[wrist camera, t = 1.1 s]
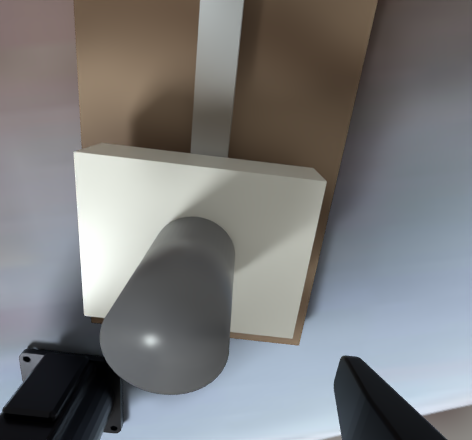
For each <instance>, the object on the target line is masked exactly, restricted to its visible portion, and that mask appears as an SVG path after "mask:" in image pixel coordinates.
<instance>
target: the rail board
mask: <svg viewBox="0 0 472 440" xmlns="http://www.w3.org/2000/svg"><path fill="white" fill-rule="evenodd" d="M377 2H378V0H74V16H75V35H76V53H77V71H78V89H79V107H80V125H81V143H82V149H84V148H87V147H90V146H94V145H97V144H100V143H107V144H115V145H124V146H132V147H141V148H149V149H158V150H166V151H174V152H183V153H191V154H200V155H208V156H217V157H225V158H233V159H242V160H250V161H259V162H267V163H276V164H284V165H292V166H301V167H309V168H314V169H315V170H316V171H317V172H318V173H319V174H320V175H321V176H322V177H323V178H324V179H325V180H326V181H327V183H326V188H325V192H324V197H323V201H322V206H321V210H320V215H319V220H318V224H317V229H316V233H315V238H314V243H313V247H312V252H311V256H310V261H309V265H308V270H307V275H306V279H305V284H304V288H303V293H302V297H301V302H300V307H299V311H298V316H297V320H296V325H295V330H294V334H293V339H290V338H281V337H272V336H263V335H254V334H244V333H235V332H230V338H236V339H245V340H254V341H263V342H272V343H281V344H290V345H299V343H300V338H301V334H302V330H303V325H304V321H305V316H306V312H307V308H308V303H309V299H310V295H311V290H312V286H313V282H314V277H315V273H316V268H317V264H318V260H319V255H320V251H321V247H322V242H323V238H324V234H325V229H326V225H327V220H328V216H329V212H330V207H331V203H332V199H333V194H334V190H335V186H336V181H337V177H338V172H339V168H340V164H341V159H342V155H343V151H344V146H345V142H346V138H347V133H348V129H349V124H350V120H351V116H352V111H353V107H354V103H355V98H356V94H357V89H358V85H359V81H360V76H361V72H362V68H363V63H364V59H365V55H366V50H367V46H368V41H369V37H370V33H371V28H372V24H373V20H374V15H375V11H376V7H377ZM103 320H104V318H100V317H91V323H100V324H102V323H103Z"/></svg>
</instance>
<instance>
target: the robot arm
mask: <svg viewBox="0 0 472 440" xmlns="http://www.w3.org/2000/svg"><path fill="white" fill-rule="evenodd" d="M19 362H20V368H21V374H22V380H23V383H22V384H21V386H20V387H19V388H18V389H17V391H16V392H15V393H14V395H13V396H12V397H11V398H10V400H9V401H8V402H7V404H6V405H5V406H4V407H3V410H2V413H1V414H0V440H100V438H101V436H102V433H103V432H107V433H119V432H120V431H121V428H122V426H123V388H122V378H121V377H120V376H118V375H117V374H116V373H115V372H114V371H113V369H112V368H111V367H110V366H109V364H108V363H107V361H106V360H105V357H101V356H92V355H83V354H74V353H65V352H56V351H46V350H37V349H25V350H24V351H23V352H22V353H21V355H20V356H19ZM334 393H335V399H336V405H337V412H338V418H339V424H340V430H341V436H342V440H447V439H446V438H445V437H444V436H443V435H442V434H441V433H440V432H438V430H436V429H435V428H434V427H433V426H432V425H431V424H430V423H429V422H428V421H427V420H426V419H425V418H424V417H423V416H422V415H420V414H419V413H418V412H417V411H416V410H415V409H414V408H413V407H412V406H411V405H410V404H409V403H408V402H407V401H406V400H405V399H403V398H402V397H401V396H400V395H399V394H398V393H397V392H396V391H395V390H394V389H393V388H392V387H391V386H390V385H389V384H387V383H386V382H385V381H384V380H383V379H382V378H381V377H380V376H379V375H378V374H377V373H376V372H375V371H374V370H373V369H371V368H370V367H369V366H368V365H367V364H366V363H365V362H364V361H363V360H362V359H361V358H359V357H355V356H342V357H341V359H340V362H339V365H338V369H337V372H336V376H335V379H334Z"/></svg>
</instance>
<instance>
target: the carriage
mask: <svg viewBox="0 0 472 440" xmlns="http://www.w3.org/2000/svg"><path fill="white" fill-rule="evenodd" d="M74 165H75V180H76V196H77V211H78V227H79V243H80V258H81V274H82V289H83V305H84V316H91V317H100V318H104V320H103V323H102V326H101V330H100V346H101V350H102V353H103V355H104V357H105V360H106V361H107V363H108V364H109V366H110V367H111V368H112V369H113V371H114V372H115V373H116V374H117V375H118V376H120V377H121V378H122V379H123V380H125V381H126V382H128V383H130V384H131V385H133V386H135V387H137V388H139V389H142V390H145V391H148V392H152V393H157V394H164V395H178V394H185V393H189V392H193V391H196V390H199V389H201V388H203V387H205V386H207V385H208V384H210V383H211V382H212V381H213V380H215V379H216V378H217V377H218V376H219V374H220V373H221V372H222V370H223V369H224V367H225V365H226V362H227V359H228V355H229V343H230V332H235V333H244V334H254V335H263V336H272V337H281V338H290V339H293V334H294V330H295V325H296V320H297V316H298V311H299V307H300V302H301V297H302V293H303V288H304V284H305V279H306V275H307V270H308V265H309V261H310V256H311V252H312V247H313V243H314V238H315V233H316V229H317V224H318V220H319V215H320V210H321V206H322V201H323V197H324V192H325V188H326V183H327V181H326V180H325V179H324V178H323V177H322V176H321V175H320V174H319V173H318V172H317V171H316V170H315V169H314V168H309V167H301V166H292V165H284V164H276V163H267V162H259V161H250V160H242V159H233V158H225V157H217V156H208V155H200V154H191V153H183V152H174V151H166V150H158V149H149V148H141V147H132V146H124V145H115V144H107V143H100V144H97V145H94V146H90V147H87V148H84V149H81V150H77V151H74Z"/></svg>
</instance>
